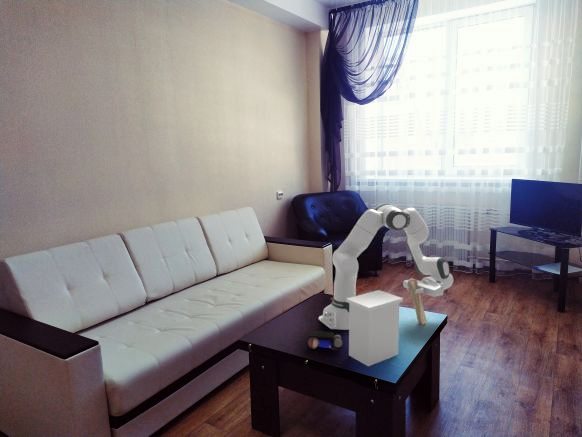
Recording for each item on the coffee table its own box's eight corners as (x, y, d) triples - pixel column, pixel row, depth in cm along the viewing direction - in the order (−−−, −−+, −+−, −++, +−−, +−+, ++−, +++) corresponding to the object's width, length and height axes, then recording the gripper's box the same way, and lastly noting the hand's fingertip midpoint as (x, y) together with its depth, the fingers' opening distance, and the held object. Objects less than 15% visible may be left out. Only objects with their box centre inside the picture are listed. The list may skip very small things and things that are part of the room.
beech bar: (422, 319, 222) (418, 322, 220) (411, 278, 213) (407, 281, 212) (426, 321, 219) (423, 324, 218) (416, 279, 211) (412, 282, 209)
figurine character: (340, 347, 196) (307, 343, 197) (342, 332, 195) (309, 328, 196) (340, 354, 189) (307, 350, 190) (342, 338, 188) (309, 334, 189)
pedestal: (345, 355, 186) (346, 298, 182) (378, 343, 197) (379, 289, 193) (368, 368, 174) (369, 307, 170) (401, 354, 185) (402, 298, 181)
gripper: (413, 275, 228) (396, 279, 220) (446, 284, 211) (428, 289, 203) (413, 286, 229) (395, 291, 221) (445, 296, 212) (428, 301, 204)
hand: (411, 290), depth 212 cm, fingers closed on beech bar, 3 cm apart
